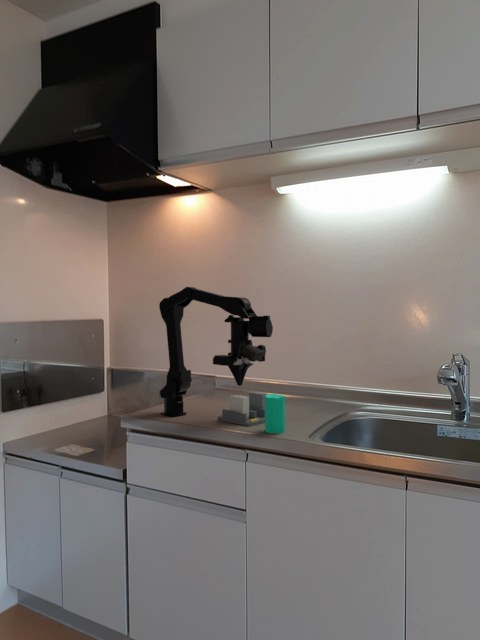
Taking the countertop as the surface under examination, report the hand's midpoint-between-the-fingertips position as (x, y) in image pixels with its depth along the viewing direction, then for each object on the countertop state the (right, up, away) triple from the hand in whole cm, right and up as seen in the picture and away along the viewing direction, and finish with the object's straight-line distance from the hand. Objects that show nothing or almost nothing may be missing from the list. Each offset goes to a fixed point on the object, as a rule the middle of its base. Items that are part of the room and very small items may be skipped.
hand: (239, 385), depth 159 cm
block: (0, -11, 0) cm, 11 cm away
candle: (+10, -12, -12) cm, 20 cm away
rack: (+3, -12, +4) cm, 12 cm away
